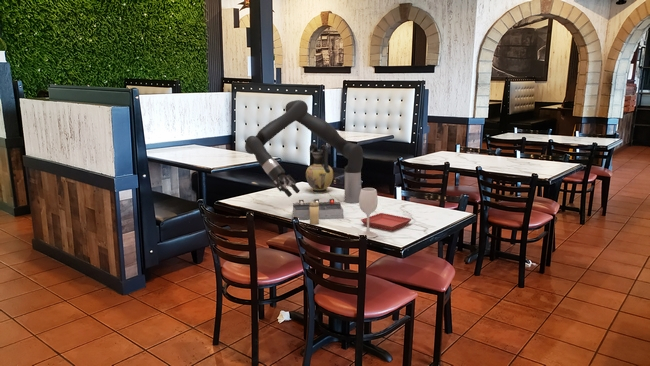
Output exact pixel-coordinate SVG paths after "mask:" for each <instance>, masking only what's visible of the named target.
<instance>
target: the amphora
mask: <svg viewBox="0 0 650 366" xmlns="http://www.w3.org/2000/svg"><path fill="white" fill-rule="evenodd" d="M305 178H306V182H307V184H308V186H309V187H310V188H311V189H312V193H315V194H323V193H327V192H328V188H329V187H330V186H331V184H332V181H333V180H334V170H333V167H331V166H330V165H329V147H328V146H327V145H326V144H322V145H320V147H319V148H318V145H317V144H316V143H311V144H310V146H309V166H307V169H306V171H305Z"/></svg>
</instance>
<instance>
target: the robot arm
mask: <svg viewBox="0 0 650 366" xmlns="http://www.w3.org/2000/svg"><path fill="white" fill-rule="evenodd" d="M308 106H309V105H307V103H306V102H305V101H304V100H301V99H299V100H298V99H297V100H292V101H289V102H287V103H286V105H285V107H284V108H285V109H284V110H285V112H284V113H283V114H282V115H280V116H278V117H277V118H275V119H273V120H272V121H270V122H269V123H267V124H265V125H264V126H263V127H262V128H260V129H259V130H258V132H257V134H256V135H250V136H248V137H247V138H246V139H245V144H244V148H245V152H246V153H248V154H250V155H254V156H255V159H256V161H257V163H258V164H259V165H260V166H261V167H262V169H263V171H264V172H265V173H266V174H267V176H268V177H269V178H270V179H271V180H272V183H273V185H275V187H276V188H277V190H278V191H279V192H283V193H284V194H285V195H286V196H287V197H288V198H290V197H291V196H292V195H293V194H292V192H291V191H290V190H289V189H288V187H290V188H291V189H292V190H293V191H294V192H295V194H299V193H300V191H301V190H300V189H299V188H298V187H297V182H296V180H295V179H294V178H293V177H292V176H291V174H287V175H286V171H285V169H284V168H283V167H282V166H281V164H279V162H278V161H277V160H276V159H275V158H273V156H272V155H271V154H270V153H269V151H267V149H266V147H265V145H266V144H267V143H268V142H269V141H271V140H272V139H273V138H274V137H276V136H277V135H278V134H279V133H280V132H282V131H283V130H284V129H286V128H288V126H290V125H292V124H293V123H294V122H298V123H299V124H301V125H302V126H304V127H305V128H307V130H309V131H310V132H311V133H313V135H315V136H317V137H318V138H319V139H320V140H322V141H323V142H325V143H326V144H328V145H329V146H331V147H332V148H334V149H336V150H337V152H339V154H340V155H342V156H343V157H344V158H345V159H347V160H348V161H347V165H346V166H344V202H345V203H347V204H357V203H359V197H360V192H361V189H362V184H361V183H362V182H361V181H362V178H361V177H362V175H361V174H362V168H363V163H364V161H363V159H364V151H363V148H362V147H363V146H361V145H360V144H356V143H352V142H350V141H348V140H346V139H345V138H344V137H342V136H341V134H340V133H339V132H338V131H337V129H336V128H335V127H334V126H333V125H332V124H330V123H329V122H327V121H325V120H324V119H322V118H320V117H317V116H316V115H313V114H311V113H310V112H308V111H309V109H308Z"/></svg>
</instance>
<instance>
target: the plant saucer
mask: <svg viewBox="0 0 650 366" xmlns="http://www.w3.org/2000/svg"><path fill="white" fill-rule="evenodd" d="M411 221H412V218H410V217H406V216H405V217H404V216H399V215H394V214H389V213H384V212H380V213H377V214H374V215H370V216H369V228H370V227H371V228H375V229H379V230H383V231H388V232H392V231H394V230H397V229H399V228H402V227H405V226H406V225H408V224H409V223H410V222H411ZM360 222H361V223H363V224H364V226H366V227H367V217H365V218H364V217H363V218H361V219H360Z"/></svg>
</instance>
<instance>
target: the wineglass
mask: <svg viewBox="0 0 650 366" xmlns="http://www.w3.org/2000/svg"><path fill="white" fill-rule="evenodd" d="M358 203H359V204H358V206H359V209H360V210H361V212H362V213H364V214H365V215H366V218H367V226H366V230H365V231H361V232H359V233H358V235H357V236H359V235H367V239H372V238H376V237H378V234H377V232H374V231H370V226H369V217H370V216H371V214H373V213H374V212H376V209H377V208H378V191H377V189H375V188H373V187H364V188H361V192H360V197H359V202H358Z"/></svg>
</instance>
